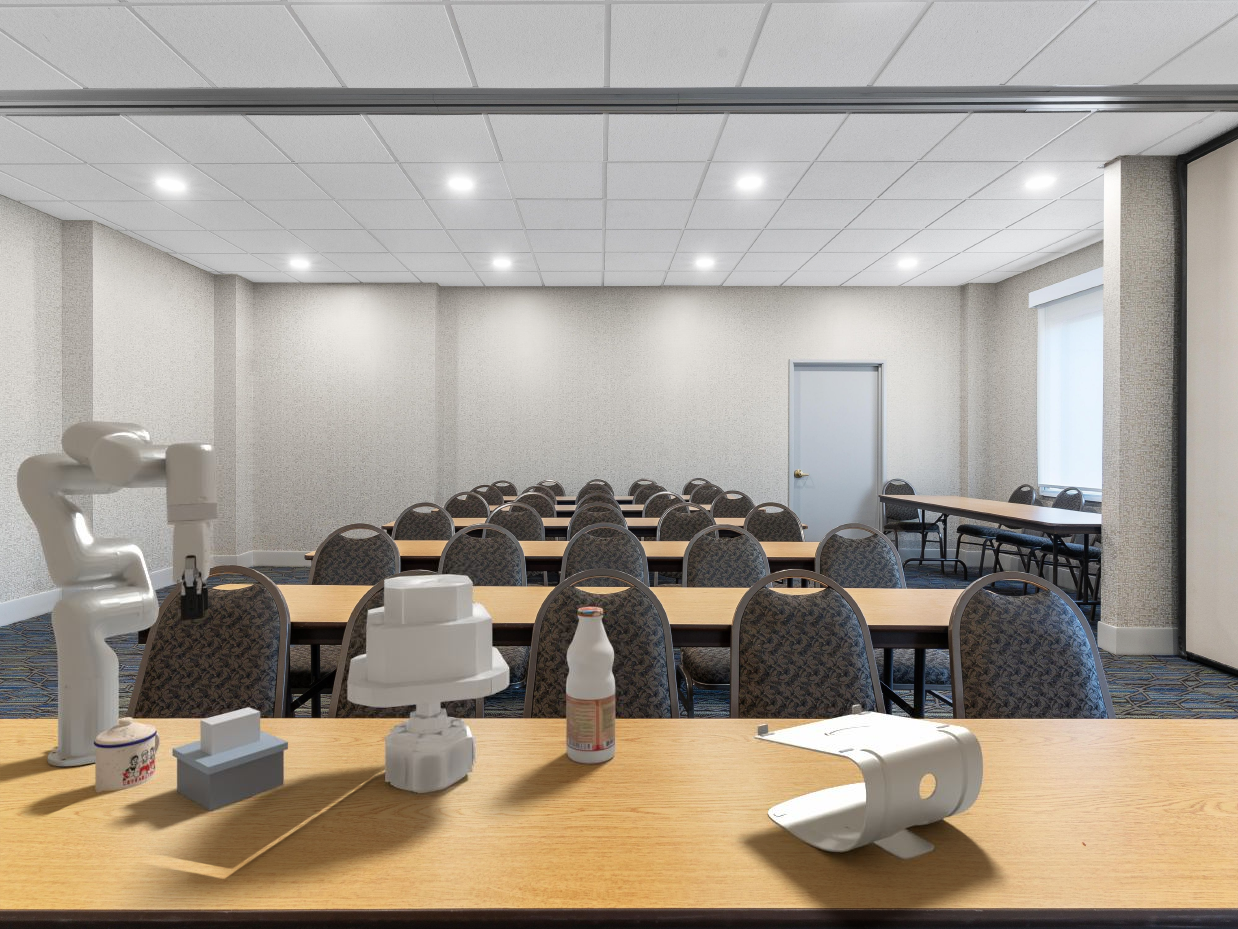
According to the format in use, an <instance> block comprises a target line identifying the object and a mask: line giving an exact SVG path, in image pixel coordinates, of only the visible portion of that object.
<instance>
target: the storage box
mask: <svg viewBox="0 0 1238 929" xmlns="http://www.w3.org/2000/svg"><path fill="white" fill-rule="evenodd" d="M284 751H285V750H284ZM284 751H280V752H277V753H274V754H271V755H268V756H265V757H262V758H259V759H256V760H253V761H250V762H247V763H243V764H240V765H237V766H234V767H231V768H228V769H225V770H222V771H219V772H216V773H213V774H209V775H208V774H206V773H204V772H202V771H200V770H198V769H196V768H195V767H193V766H191V765H189V764H187V763H185V762H183V761H181V760H180V759H178V758H176V792H177V793H179V794H180V795H182V796H183V797H185V798H187V799H189V800H190V801H193V802H194V803H195V804H197V805H198V806H201V807H202V808H204V809H206V810H208V811H209V812H213V811H215V810H218V809H221V808H223V807H226V806H229V805H231V804H235V803H237V802H241V801H243V800H246V799H249V798H251V797H253V796H257V795H259V794H263V793H265V792H267V791H268V792H269V791H270V790H273V789H276V788H279V787H281V786H284V785H285V784H284V783H285V782H284V781H285V780H284V779H285V778H284V776H285V772H284V770H285V768H284V764H285V762H284V758H285V757H284V756H285V755H284V754H285V752H284Z"/></svg>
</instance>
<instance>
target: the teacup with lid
mask: <svg viewBox="0 0 1238 929" xmlns="http://www.w3.org/2000/svg"><path fill="white" fill-rule="evenodd" d="M133 719H134V718H133V717H132V716H131V717H130V716H127V717H123V718H120V719H119V724H118V725H116V726H114V727H112V728H111V729H110V730H107V731H104V732H102V733H101V734H99V735H98V736H97V737H96V738H95V741H94V745H95V773H94V774H95V778H94V779H95V782H94V784H95V792H96V793H97V794H99V793H102V792H103V791H104V792H111V791H112V792H114V791H120V790H126V789H132V788H134V787H138V786H140V785H143V784H146V783H148V782H149V781H151V780H153V779H154V777H155V776H156V755H157V754H158V751H159V748H160V745H161V737H160V734H159V733H158V732H157V729H156V727H155V726H154V725H152V724H146V723H140V722H136V721H134V720H133Z"/></svg>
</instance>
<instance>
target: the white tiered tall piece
mask: <svg viewBox="0 0 1238 929" xmlns="http://www.w3.org/2000/svg"><path fill="white" fill-rule="evenodd" d="M383 581H384V582H383V589H384V591H383V606H381V607H376V608H371V609H368V610H367V616H366V627H365V628H366V629H365V633H366V634H365V635H366V636H365V637H366V640H365V642H366V643H365V644H366V645H365V646H366V648H365V649H366V650H365V652H366V653H364V654H359V655H357V656H355V657H353V658H351V659H350V663H349V669H348V674H347V675H348V676H347V682H346V684H347V687H346V690H347V691H346V694H347V695H346V696H347V698H346V699H347V701H349V702H351V703H353V704H357V705H361V706H366V707H371V708H393V707H402V706H404V707H405V706H413V705H415V706H416V707H415V708H416V709H415V710H414V711H411V712H410V713H409V719H407V720H405V721H403V722H401V723H398V724H394V725H393V727H392V728H391V729H389V730H390V731H389V732H390V733H389V734H386V735H384V737H385V738H384V744H385V745H384V746H385V747H384V750H385V751H384V753H385V754H384V758H385V759H384V763H385V764H384V766H385V767H384V770H385V771H384V773H385V774H384V776H385V777H384V778H385V783H389V782H390V785H391V786H393V787H394V788H397V789H400V790H401V789H402V790H406V791H409V792H412V791H413V792H414V793H416V792H417V794H421V793H422V794H423V793H429V792H436V791H437V790H438V791H443V790H444V789H447V788H448V787H450V786H451V785H453V784H455V783H457V782H459V781H460V780H462V779H464V777H465V776H467V775H468V773H473V765H474V763H476V740H475V737H474V734H473V733H472V732H471V730H470V726H468V725H466V723H465V721H464V720H462V719H461V718H458V717H453V716H448V713H447V709H446V708H441V703H443V702H452V701H453V702H455V701H464V700H471V699H480V698H484V697H487V696H492V695H495V694H496V693H499V692H501V691H503V690H505V689H507V688H508V687H509V685H510V667H509V665H508V664H507V662H506V660H505V659H504V657H503V655H502V654H501V653H500V650H499V649H498V648H497V647H495V646H493V617H492V616H491V615H490V613H489V612H488V610H487V609H486V608H485V607H484V606H483V604H482V603H479V602H474V601H473V600H474V597H473V595H474V592H473V591H474V589H473V586H474V584H473V583H474V582H473V581H472V580H471V578H469V576H468V575H461V574H452V573H449V574H431V575H429V574H427V575H424V574H423V575H407V576H406V575H405V576H403V575H402V576H396V577H390V578H385V579H384V580H383Z"/></svg>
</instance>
